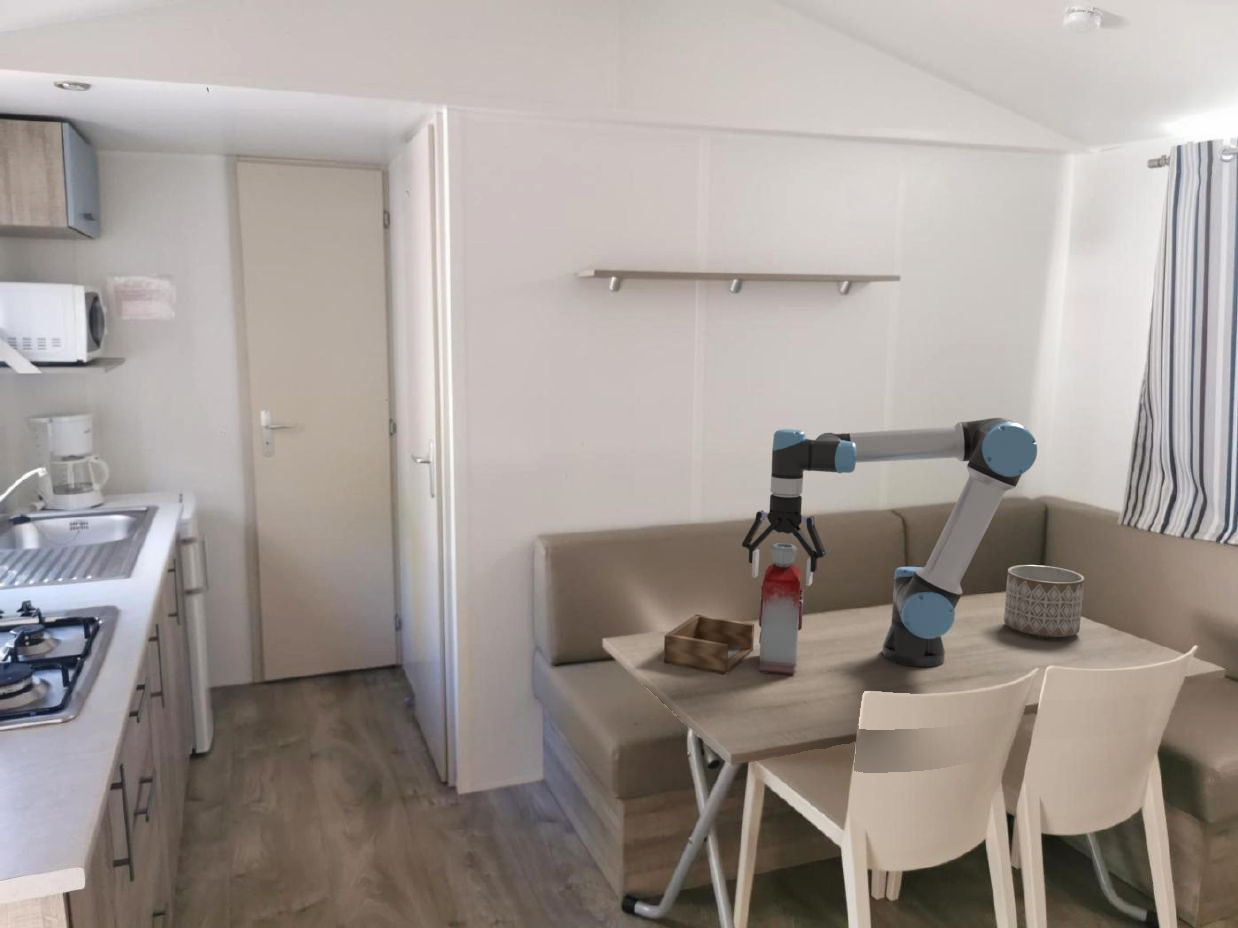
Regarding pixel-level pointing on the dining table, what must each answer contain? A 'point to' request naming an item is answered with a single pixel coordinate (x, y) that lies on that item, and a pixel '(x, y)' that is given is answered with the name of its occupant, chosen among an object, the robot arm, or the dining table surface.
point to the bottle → (780, 612)
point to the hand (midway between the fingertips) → (781, 580)
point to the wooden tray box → (709, 643)
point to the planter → (1043, 600)
